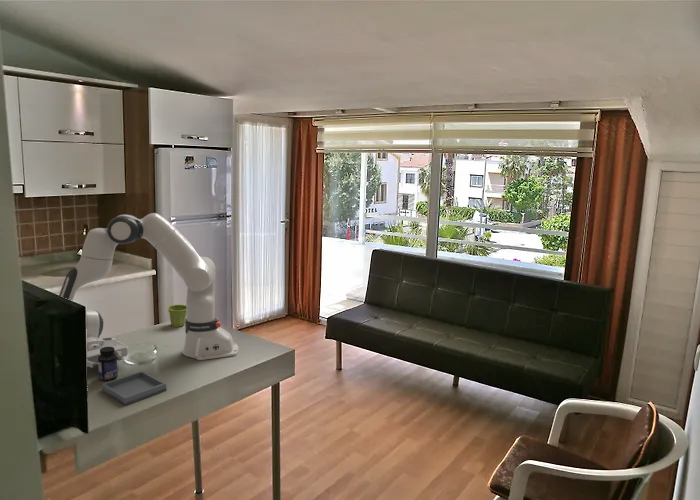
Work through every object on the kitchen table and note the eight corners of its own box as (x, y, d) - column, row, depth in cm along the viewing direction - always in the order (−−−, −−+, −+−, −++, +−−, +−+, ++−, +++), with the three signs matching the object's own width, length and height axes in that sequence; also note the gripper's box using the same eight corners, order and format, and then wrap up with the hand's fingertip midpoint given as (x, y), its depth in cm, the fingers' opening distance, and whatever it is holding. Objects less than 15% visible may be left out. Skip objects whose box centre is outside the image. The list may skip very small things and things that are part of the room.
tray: (142, 377, 186) (142, 370, 185) (166, 390, 177) (166, 383, 176) (101, 390, 174) (101, 383, 174) (125, 405, 165) (124, 398, 165)
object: (190, 321, 247) (189, 304, 246) (186, 328, 238) (186, 310, 236) (169, 321, 246) (169, 304, 244) (165, 328, 237) (165, 310, 235)
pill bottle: (120, 374, 187) (119, 346, 185) (112, 382, 181) (111, 352, 179) (104, 373, 187) (103, 345, 185) (95, 380, 181) (94, 351, 179)
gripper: (60, 349, 184) (76, 361, 175) (117, 336, 199) (134, 346, 190) (61, 366, 185) (77, 378, 176) (118, 351, 200) (134, 362, 191)
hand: (107, 361), depth 183 cm, fingers open, 8 cm apart
